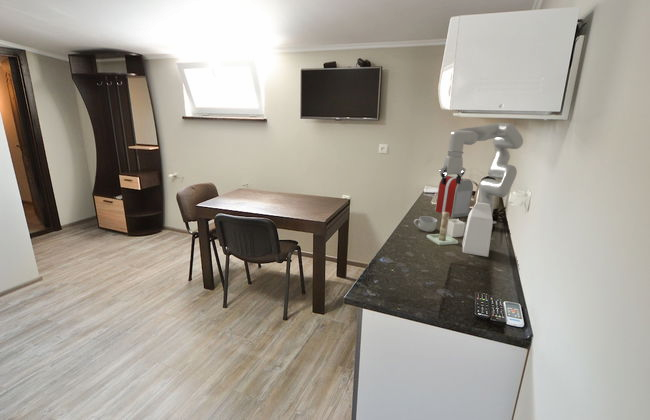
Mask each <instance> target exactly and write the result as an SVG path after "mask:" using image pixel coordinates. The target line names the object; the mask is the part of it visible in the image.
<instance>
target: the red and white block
mask: <svg viewBox="0 0 650 420" xmlns="http://www.w3.org/2000/svg"><path fill="white" fill-rule="evenodd" d="M456 177H457V176H453V175H448V176H447V177H446V178H447V181H446V185H443V184H442V178H440V181H439V182H438V183H439V184H438V187H437V188H438V189H437V196H436V203H435V208H434V211H435V212H437V213H439V214H441V215H442V214H443V212H449V213H450V214H449V218H452V219H453V218H460V217H468V216H469V213H470V208H471V201H472V196H473V191H474V184H473V181H472V180H471V179H466V178H463V177H461V182H460V184H457V183H456Z"/></svg>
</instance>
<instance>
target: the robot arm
mask: <svg viewBox="0 0 650 420" xmlns="http://www.w3.org/2000/svg"><path fill="white" fill-rule="evenodd" d="M491 139H492V144H493V147H494V151H495V152H494V157H493V158H492V159H493V160H492V161H491V164H490V166H489V168H488V171H487V174H488V176H489V177H491V178H483V179H482V180H480V182H479V184H478V199H477V203H485V204H490V208H491V213H492V214H493V212H494V208H495V203H496V201H495V197H498V198H505V197H506V196H508V194H509V193H510V190H511V188H512V186H513V184H514V181H515V179H516V177H517V173H518V169H517V167H516V166H514V165H512V164H508V163H509V161H510V157H511V154H510V152H509V150H508V149H511V150H518V149H520V148H521V147H522V146H523V144H524V138H523V135H522V134H521V133H520V131H519V129H517V127H516V126H515V125H513V124H512V123H510V122H509V123H508V122H493V123H490V124H485V125H480V126H478V125H477V126H473V127H465V128H459V129H457V130H455V131H451V132H450V134H449V140H448V147H447V148H448V149H447V155H446V156H445V159H444V161H443V166H442V167H441V168H440V169H439V170H438V172H439V174H440V177H441V179H442V184H443V185H446V181H447V178H446V177H447V176H448V175H450V176H453V175H456V176H455V177H456V183H457V184H460V182H461V178H463V176H464V175H465V172H466V170H467V169H466V168H465V167H464V165H463V163H464V162H463V161H464V158H463V155H464V151H463V150H464V145H467V146H472V145H474V144H476V143H477V142H482V141H483V142H484V141H485V142H486V141H488V140H491ZM492 178H494V179H492ZM497 179H498V180H497ZM496 224H497V221H495V220H493V224H492V225H496ZM493 228H494V227H493V226H492V229H493Z"/></svg>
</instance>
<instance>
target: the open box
mask: <svg viewBox="0 0 650 420" xmlns="http://www.w3.org/2000/svg"><path fill="white" fill-rule="evenodd" d="M465 229H466V222H464V221H462V220H460V219H457V218H455V219H453V218H452V219H450V218H449V221H448V227H447V235H448V236H450V237H452V238H459V237H464V234H465Z"/></svg>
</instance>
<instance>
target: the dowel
mask: <svg viewBox="0 0 650 420" xmlns="http://www.w3.org/2000/svg"><path fill="white" fill-rule="evenodd" d="M449 214H450V213H449V212H443V214H441V222H440V228H439V233H438V234H439V240H441V241H445V240H446V234H447V227H448V221H449V220H450V217H449Z"/></svg>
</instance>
